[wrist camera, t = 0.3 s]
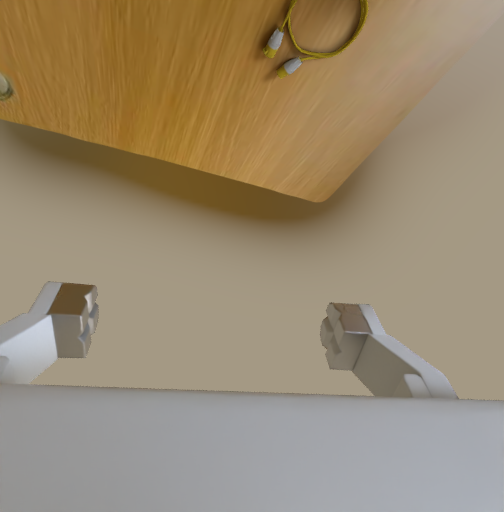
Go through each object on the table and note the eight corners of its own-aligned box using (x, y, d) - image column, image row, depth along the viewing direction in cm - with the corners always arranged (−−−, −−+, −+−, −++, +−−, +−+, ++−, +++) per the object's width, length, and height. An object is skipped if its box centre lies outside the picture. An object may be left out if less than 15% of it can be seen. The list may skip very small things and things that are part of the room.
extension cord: (247, 2, 55) (247, 10, 54) (363, -41, 50) (365, -33, 49) (272, 76, 65) (272, 84, 64) (371, 45, 60) (373, 53, 59)
